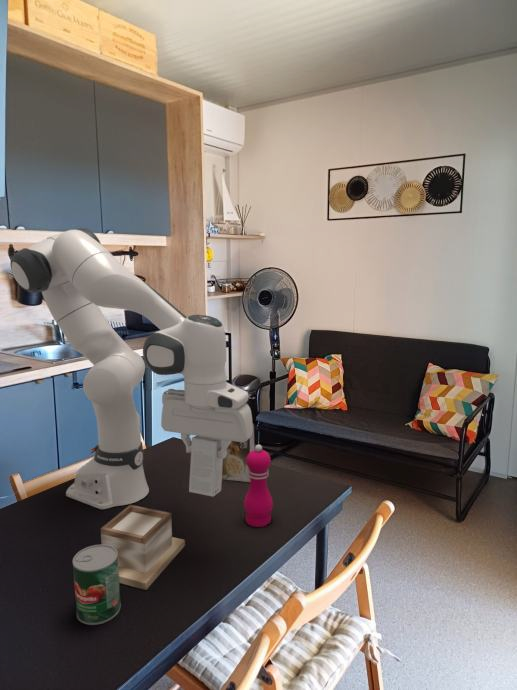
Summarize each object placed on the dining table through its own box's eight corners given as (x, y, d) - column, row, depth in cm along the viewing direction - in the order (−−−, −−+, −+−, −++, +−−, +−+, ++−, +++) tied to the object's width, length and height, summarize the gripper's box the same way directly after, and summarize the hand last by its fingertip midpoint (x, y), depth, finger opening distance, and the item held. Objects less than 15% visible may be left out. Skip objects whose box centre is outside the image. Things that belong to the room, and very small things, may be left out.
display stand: (87, 574, 103) (85, 533, 101) (132, 533, 117) (130, 497, 116) (146, 590, 98) (144, 547, 96) (184, 545, 113) (183, 508, 111)
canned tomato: (123, 593, 97) (121, 542, 95) (117, 623, 89) (114, 568, 87) (81, 597, 96) (78, 545, 94) (71, 627, 88) (67, 571, 86)
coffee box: (255, 473, 150) (255, 422, 147) (250, 482, 143) (250, 430, 140) (226, 470, 152) (226, 420, 149) (220, 479, 146) (219, 427, 143)
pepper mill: (269, 529, 119) (270, 451, 116) (240, 526, 121) (240, 449, 117) (274, 514, 126) (275, 440, 123) (247, 511, 128) (247, 438, 124)
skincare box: (221, 491, 108) (225, 437, 108) (213, 497, 104) (217, 441, 104) (196, 485, 111) (200, 433, 110) (187, 492, 107) (191, 437, 106)
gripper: (154, 391, 104) (156, 453, 107) (244, 402, 98) (244, 467, 100) (169, 384, 110) (171, 442, 113) (255, 393, 103) (255, 455, 106)
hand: (206, 454), depth 106 cm, fingers closed on skincare box, 6 cm apart
